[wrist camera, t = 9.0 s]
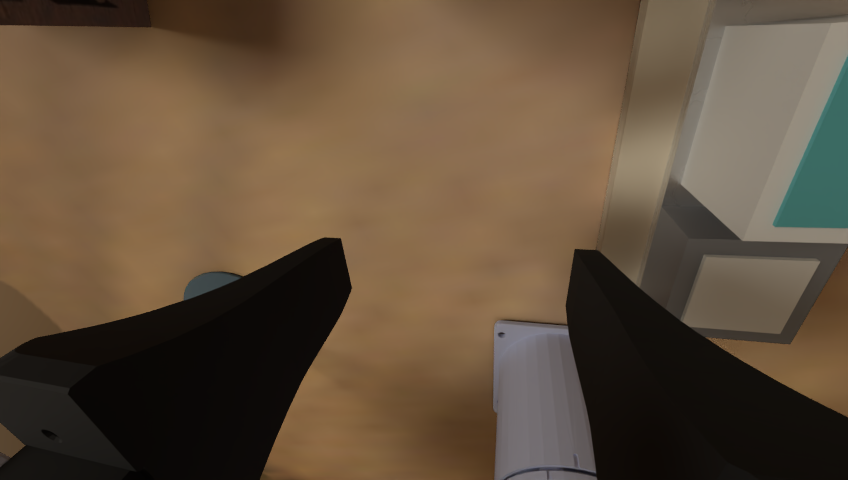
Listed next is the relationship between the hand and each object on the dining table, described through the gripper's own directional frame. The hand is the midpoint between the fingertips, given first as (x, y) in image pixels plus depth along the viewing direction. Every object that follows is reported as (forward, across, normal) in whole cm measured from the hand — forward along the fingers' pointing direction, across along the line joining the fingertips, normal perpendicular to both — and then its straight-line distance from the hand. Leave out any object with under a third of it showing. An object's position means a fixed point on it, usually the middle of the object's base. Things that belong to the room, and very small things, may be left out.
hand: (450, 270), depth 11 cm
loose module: (+8, -11, -3) cm, 14 cm away
